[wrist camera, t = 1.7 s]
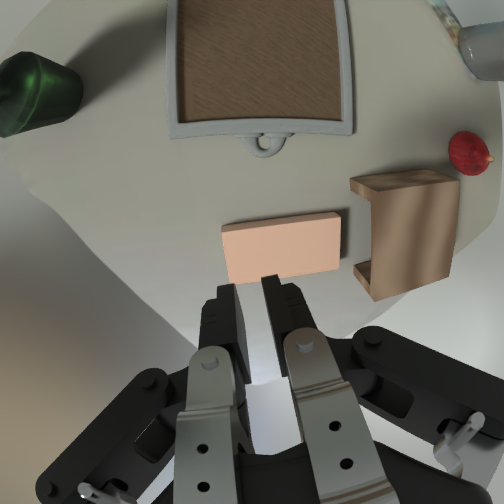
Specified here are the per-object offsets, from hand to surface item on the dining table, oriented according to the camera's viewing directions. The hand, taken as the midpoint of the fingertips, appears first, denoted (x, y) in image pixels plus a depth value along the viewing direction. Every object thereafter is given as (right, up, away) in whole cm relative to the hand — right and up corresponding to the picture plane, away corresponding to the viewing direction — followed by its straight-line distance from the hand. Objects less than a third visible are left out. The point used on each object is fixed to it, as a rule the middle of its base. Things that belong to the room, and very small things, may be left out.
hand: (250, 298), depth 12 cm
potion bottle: (-22, +20, +10) cm, 31 cm away
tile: (+3, +3, +21) cm, 21 cm away
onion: (+27, +16, +16) cm, 36 cm away
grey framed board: (+1, +26, +10) cm, 27 cm away
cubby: (+18, +6, +20) cm, 28 cm away
